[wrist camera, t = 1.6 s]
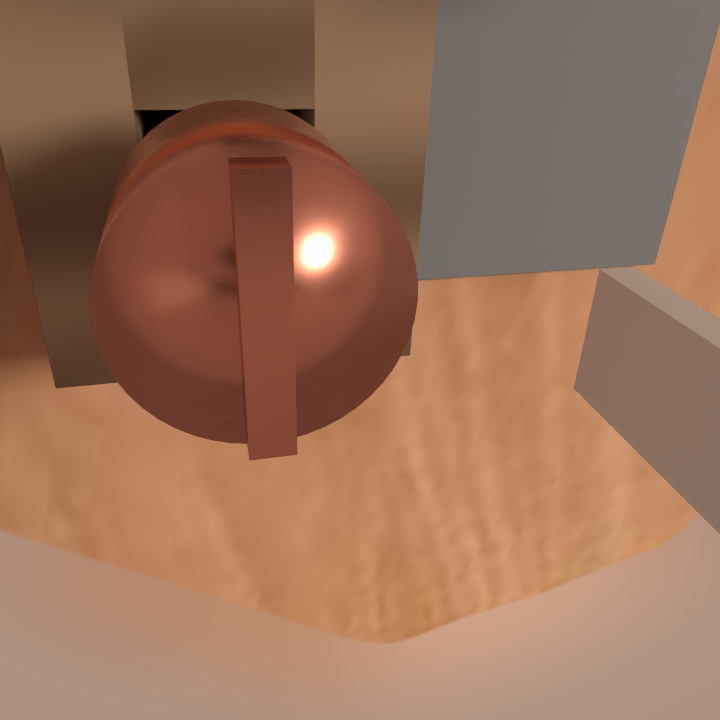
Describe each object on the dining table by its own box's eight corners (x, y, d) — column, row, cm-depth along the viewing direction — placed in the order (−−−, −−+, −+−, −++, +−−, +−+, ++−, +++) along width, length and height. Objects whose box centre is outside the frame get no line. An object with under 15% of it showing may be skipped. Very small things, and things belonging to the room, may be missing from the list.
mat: (420, -60, 22) (426, -61, 22) (725, -44, 25) (737, -44, 24) (398, 275, 28) (402, 280, 28) (646, 259, 31) (654, 264, 30)
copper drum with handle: (115, 61, 22) (52, 161, 10) (308, 63, 23) (446, 151, 12) (141, 247, 25) (114, 485, 13) (309, 239, 26) (417, 446, 15)
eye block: (2, -42, 20) (-44, -47, 16) (390, -27, 22) (440, -27, 18) (74, 320, 26) (55, 388, 21) (374, 298, 28) (409, 355, 24)
